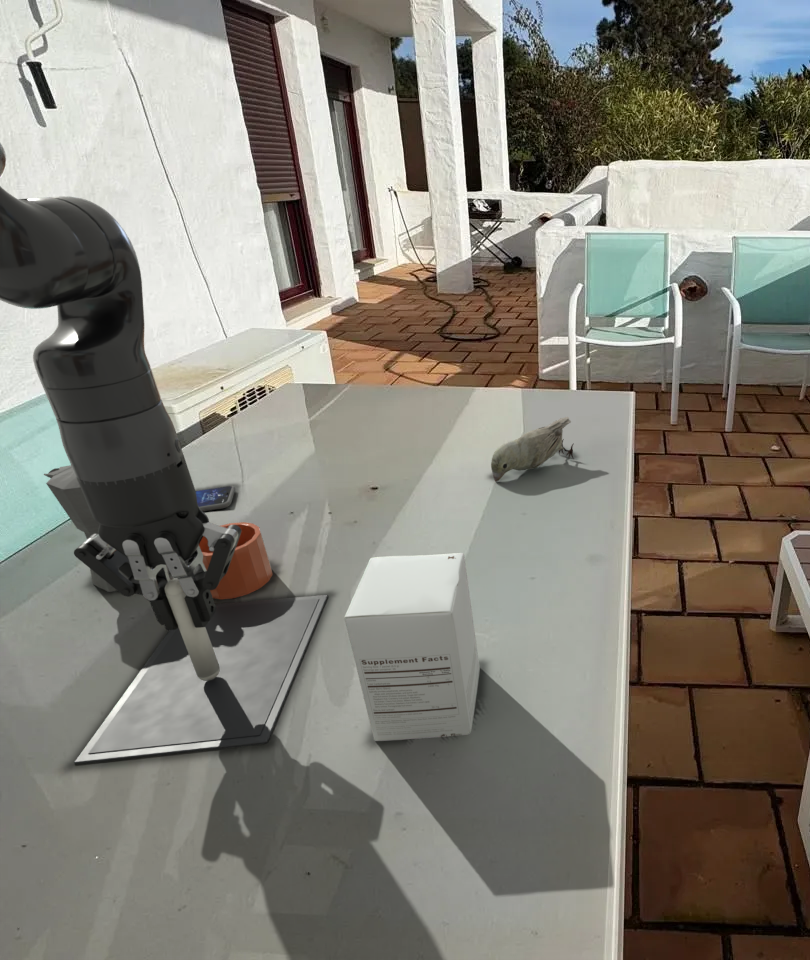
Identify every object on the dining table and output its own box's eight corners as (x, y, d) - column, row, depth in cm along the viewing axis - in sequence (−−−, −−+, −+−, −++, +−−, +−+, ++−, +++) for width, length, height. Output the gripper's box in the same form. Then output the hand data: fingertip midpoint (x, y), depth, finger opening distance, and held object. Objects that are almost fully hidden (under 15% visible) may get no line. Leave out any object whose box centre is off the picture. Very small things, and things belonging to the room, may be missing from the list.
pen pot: (195, 606, 76) (177, 557, 73) (220, 570, 83) (205, 524, 80) (261, 601, 77) (247, 552, 74) (281, 566, 84) (268, 520, 81)
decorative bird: (485, 477, 107) (481, 436, 104) (560, 451, 117) (558, 413, 113) (503, 487, 103) (499, 445, 100) (578, 460, 113) (578, 421, 110)
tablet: (77, 770, 55) (72, 761, 55) (189, 613, 75) (186, 605, 75) (269, 749, 57) (266, 740, 57) (329, 601, 77) (327, 593, 76)
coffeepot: (60, 595, 78) (-3, 463, 70) (118, 553, 87) (68, 431, 79) (177, 601, 77) (126, 467, 69) (225, 558, 86) (184, 434, 78)
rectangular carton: (394, 676, 65) (368, 554, 59) (481, 671, 66) (466, 549, 59) (372, 748, 57) (339, 616, 51) (472, 742, 58) (453, 610, 51)
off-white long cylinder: (196, 686, 63) (157, 586, 57) (204, 671, 64) (168, 574, 59) (217, 684, 63) (180, 585, 58) (225, 670, 65) (190, 572, 59)
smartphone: (128, 500, 99) (235, 483, 103) (130, 505, 99) (236, 489, 104) (114, 521, 92) (228, 503, 97) (116, 527, 93) (230, 508, 98)
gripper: (7, 484, 49) (90, 657, 57) (197, 473, 50) (252, 643, 58) (67, 446, 55) (134, 605, 63) (233, 437, 57) (279, 593, 65)
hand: (190, 622), depth 61 cm, fingers closed on off-white long cylinder, 2 cm apart
